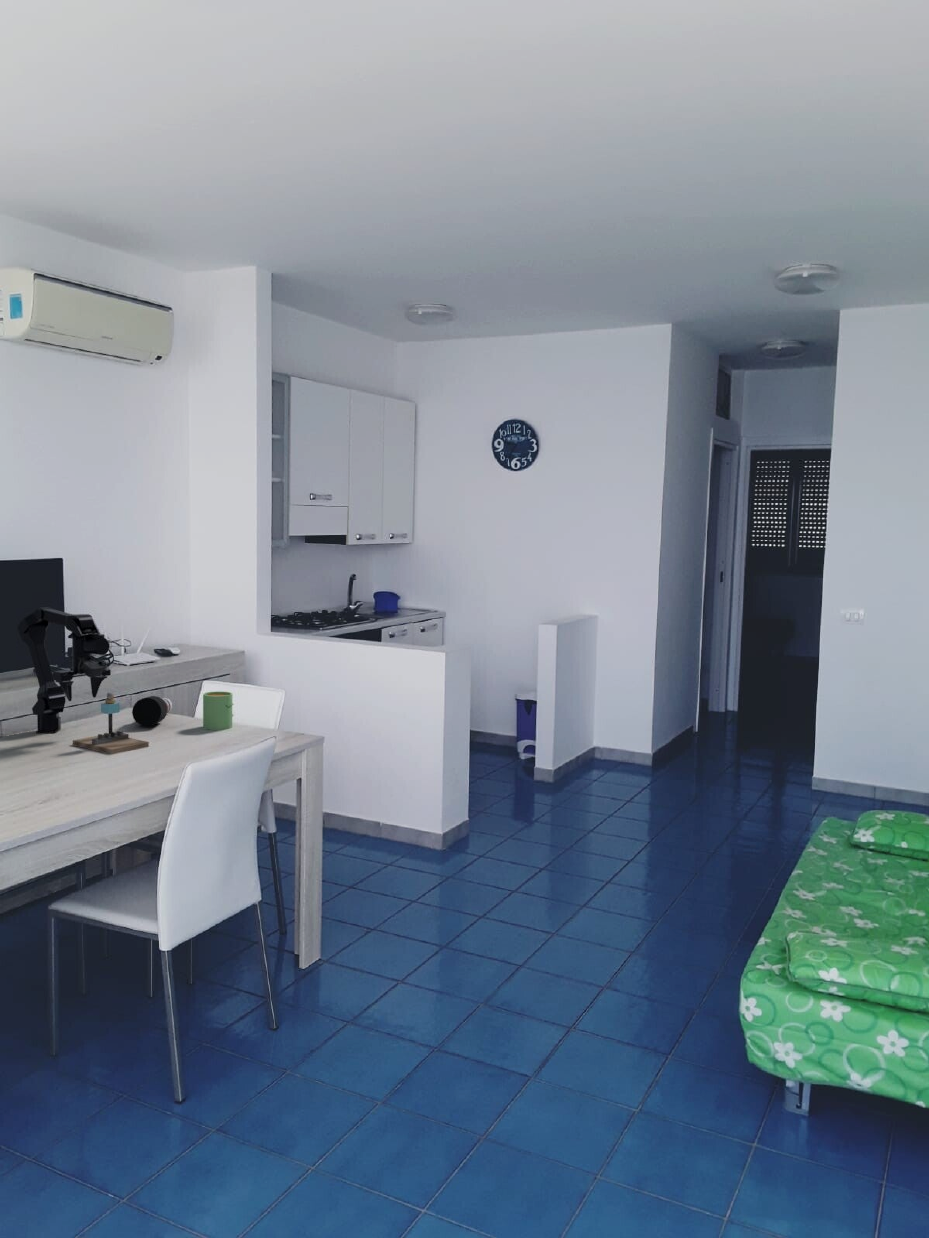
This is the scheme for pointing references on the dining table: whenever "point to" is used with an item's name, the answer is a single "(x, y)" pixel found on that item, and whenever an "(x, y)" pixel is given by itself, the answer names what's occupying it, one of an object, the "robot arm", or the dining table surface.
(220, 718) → the mug
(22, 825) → the dining table surface
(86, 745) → the wooden base post stand
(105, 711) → the sleeve
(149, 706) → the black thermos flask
